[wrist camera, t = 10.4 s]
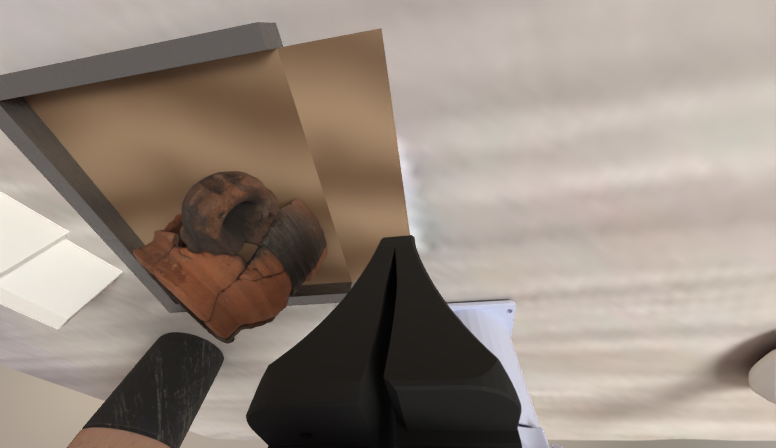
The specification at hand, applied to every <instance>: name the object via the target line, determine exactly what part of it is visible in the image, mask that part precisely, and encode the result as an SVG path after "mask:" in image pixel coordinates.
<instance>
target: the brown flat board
mask: <svg viewBox="0 0 776 448" xmlns="http://www.w3.org/2000/svg"><path fill="white" fill-rule="evenodd" d="M23 98H24V99H25V100H26V101H27V102H28V104H29V105H30V106H31V107H32V108H33V110H34V111H35V112H36V113H37V115H38V116H39V117H40V118H41V119H42V121H43V122H44V123H45V124H46V125H47V127H48V128H49V129H50V130H51V131H52V133H53V134H54V135H55V136H56V138H57V139H58V140H59V141H60V142H61V144H62V145H63V146H64V147H65V148H66V150H67V151H68V152H69V153H70V155H71V156H72V157H73V158H74V159H75V161H76V162H77V163H78V164H79V165H80V167H81V168H82V169H83V170H84V171H85V173H86V174H87V175H88V176H89V178H90V179H91V180H92V181H93V182H94V184H95V185H96V186H97V187H98V188H99V190H100V191H101V192H102V193H103V194H104V196H105V197H106V198H107V199H108V201H109V202H110V203H111V204H112V205H113V207H114V208H115V209H116V210H117V211H118V213H119V214H120V215H121V216H122V218H123V219H124V220H125V221H126V222H127V224H128V225H129V226H130V227H131V228H132V230H133V231H134V232H135V233H136V234H137V236H138V237H139V238H140V239H141V241H142V242H143V243H144V244H145V245H147V244H149V243H150V242H152V241H153V238H154V232H155V231H156V230H164V229H165V228H166V226H167V225H168V223H170V222H171V221H172V220H173V219H174V218H175V216H176V215H178V214H181V213H182V211H181V209H182V202H183V200H184V197H185V196H186V194H187V192H188V191H189V190H190V188H191V187H192V186H193V185H195V184H196V183H197V182H199V181H200V180H202V179H203V178H205V177H207V176H209V175H212V174H215V173H218V172H229V171H239V172H244V173H247V174H249V175H251V176H253V177H256V178H258V179H259V180H260V181H261V182H262V183H263V185H264V186H265V187H266V188H267V189H269V190H271V191H272V192H273V194H274V195H275V196H276V198H277V201H278V208H279V209H281V208H283V207H284V206H285V205H289V204H290V203H291V202H292V201H293V200H294V199H300V200H301V201H302V202H303V203H304V204H305V205H306V206H307V208H308V209H309V210H310V211H311V212H312V213H313V214H314V216H315V217H316V219H317V220H318V222H319V225H320V227H321V228H322V230H323V232H324V236H325V239H326V242H327V256H326V258H325V260H324V261H323V262H322V263H321V266H320V267H319V270H318V272H317V274H316V275H315V277H314V278H313V279H312V280H311V281H305V282H304V283H303V284H302V285H310V284H325V283H339V282H353V281H357V280H358V278H359V277H360V276H361V274H362V273H363V271H364V269H365V268H366V266H367V265H368V263H369V261H370V260H371V258H372V256H373V254H374V253H375V251H376V249H377V247H378V245H379V243H380V241H381V239H382V238H384V237H396V236H407V235H410V232H409V225H408V218H407V211H406V203H405V196H404V189H403V182H402V174H401V167H400V160H399V153H398V146H397V138H396V131H395V124H394V117H393V109H392V102H391V95H390V88H389V81H388V73H387V66H386V59H385V52H384V44H383V37H382V30H381V29H376V30H371V31H365V32H360V33H355V34H349V35H344V36H339V37H334V38H328V39H323V40H318V41H312V42H307V43H302V44H296V45H291V46H286V47H280V48H275V49H270V50H265V51H259V52H254V53H249V54H244V55H238V56H233V57H228V58H223V59H217V60H212V61H207V62H202V63H196V64H191V65H186V66H181V67H175V68H170V69H165V70H160V71H154V72H149V73H144V74H139V75H133V76H128V77H123V78H118V79H112V80H107V81H102V82H97V83H91V84H86V85H81V86H76V87H70V88H65V89H60V90H55V91H49V92H44V93H39V94H34V95H28V96H23ZM257 248H258V246H257V245H254V244H249V243H244V245H243V248H242V249H241V250H240V251H239V252H237V254H239V255H241V256H242V257H243V258H244V259H245V261H247V262H248V261H249V260H250V259H251V258H252V256H253V255H254V253H255V252H256V250H257Z"/></svg>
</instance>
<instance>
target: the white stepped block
mask: <svg viewBox="0 0 776 448" xmlns="http://www.w3.org/2000/svg"><path fill="white" fill-rule="evenodd" d="M68 233H69V231H67V230H66V229H64V228H62V227H60V226H59V225H57V224H55V223H54V222H52V221H50V220H49V219H47V218H45V217H43V216H42V215H40V214H38V213H37V212H35V211H33V210H31V209H30V208H28V207H26V206H25V205H23V204H21V203H19V202H18V201H16V200H14V199H13V198H11V197H9V196H7V195H6V194H4V193H2V192H1V191H0V304H1V305H4V306H6V307H8V308H10V309H13V310H15V311H17V312H19V313H21V314H24V315H26V316H28V317H30V318H33V319H35V320H37V321H39V322H42V323H44V324H46V325H48V326H51V327H53V328H55V329H57V330H59V329H60V328H61V327H62V326H64V325H65V324H66V323H67V322H68V321H69V320H70V319H72V318H73V317H74V316H75V315H76V314H77V313H79V312H80V311H81V310H82V309H83V308H84V307H85V306H87V305H88V304H89V303H90V302H91V301H92V300H94V299H95V298H96V297H97V296H98V295H99V294H100V293H102V292H103V291H104V290H105V289H106V288H107V287H109V286H110V285H111V284H112V283H113V282H114V281H115V280H116V279H117V278H118V277H119V276H120V275H121V274H122V272H123V271H121V270H119V269H117V268H116V267H114V266H112V265H110V264H109V263H107V262H105V261H103V260H102V259H100V258H98V257H96V256H95V255H93V254H91V253H89V252H88V251H86V250H84V249H82V248H81V247H79V246H77V245H75V244H74V243H72V242H70V241H68V240H67V239H65V238H66V236H67V235H68Z"/></svg>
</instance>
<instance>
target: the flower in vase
mask: <svg viewBox="0 0 776 448" xmlns="http://www.w3.org/2000/svg"><path fill="white" fill-rule="evenodd" d="M749 384H750V387H751V389H752V390H753V391H754V392H755V393H757V394H759V395H760V396H762V397H763V398H765V399H766V400H768V401H770V402H772V403H775V404H776V349H774V350H772V351H771V352H769V353H768V354H766V355H765V356H764V357H763V358H762V359H760V360H759V361H758V362H757V363H756V364H755V365H754V366H753V367H752V368H751V370H750V372H749Z"/></svg>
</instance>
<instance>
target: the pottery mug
mask: <svg viewBox="0 0 776 448" xmlns="http://www.w3.org/2000/svg"><path fill="white" fill-rule="evenodd" d="M181 211H182V213H181V214H178V215H176V216H175V218H174V219H173V220H172V221H171V222H170V223H168V225H167V226H166V228H165V229H164V230H156V231H155V232H154V238H153V241H152V242H150V243H149V244H147V245H145V246H143V247H140V248H137V249H134V250H133V255H134V256H135V257H136V258H137V261H138V263H139V264H141V265H142V266H143V267H144V268H146V269H147V273H148V275H150V277H151V278H152V279H153V280H154V281H155V282H156V283H157V284H158V285H159V286H161V287H162V288H163V289H164V290H165V292H166V293H167V294H168V295H170V296H171V297H172V298H173V299H174V300H175V301H176V302H177V303H178V304H180V306H181V307H182V308H183V309H185V310H186V311H187V312H188V313H189V314H190V315H191V316H192V317H193V318H194V319H195V320H196V321H197V322H198V323H200V324H201V325H202V326H203V327H204V328H205V329H206V330H207V331H208V332H209V333H211V334H212V335H213V336H214V337H215V338H217V339H218V340H220V341H222V342H224V343H227V344H228V343H231V342H233V341H234V337H235V336H236V335H237V334H238V333H239V332H240V331H241V330H243V329H252V328H254V327H258V326H262V325H264V324H266V323H269V322H271V321H273V320H274V318H275V316H277V315H278V313H279V312H280V311H282V310H283V309H284V308H285V307H286V306H287V303H288V299H289V297H290V296H293V295H294V294H295V293H296V292H297V291H298V290H299V289H300V287H301V285H302V284H303V283H304V282H305V281H311V280H312V279H313V278H314V277H315V275H316V274H317V272H318V270H319V267H320V266H321V263H322V262H323V261H324V260H325V258H326V256H327V242H326V239H325V236H324V232H323V230H322V228H321V227H320V225H319V222H318V220H317V219H316V217H315V216H314V214H313V213H312V212H311V211H310V210H309V209H308V208H307V206H306V205H305V204H304V203H303V202H302V201H301V200H300V199H294V200H293V201H292V202H291V203H290V204H289V205H285V206H284V207H283V208H281V209H279V208H278V201H277V198H276V196H275V195H274V194H273V192H272V191H271V190H269V189H267V188H266V187H265V186H264V185H263V183H262V182H261V181H260V180H259V179H258V178H256V177H253V176H251V175H249V174H247V173H244V172H239V171H229V172H218V173H215V174H212V175H209V176H207V177H205V178H203V179H202V180H200V181H199V182H197V183H196V184H195V185H193V186H192V187H191V188H190V190H189V191H188V192H187V194H186V196H185V197H184V200H183V202H182V209H181ZM244 243H249V244H254V245H257V246H258V248H257V250H256V252H255V253H254V255H253V256H252V258H251V259H250V260H249V261H248V262H247V261H245V259H244V258H243V257H242V256H241V255H239V254H237V252H239V251H240V250H241V249H242V248H243V245H244Z"/></svg>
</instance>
